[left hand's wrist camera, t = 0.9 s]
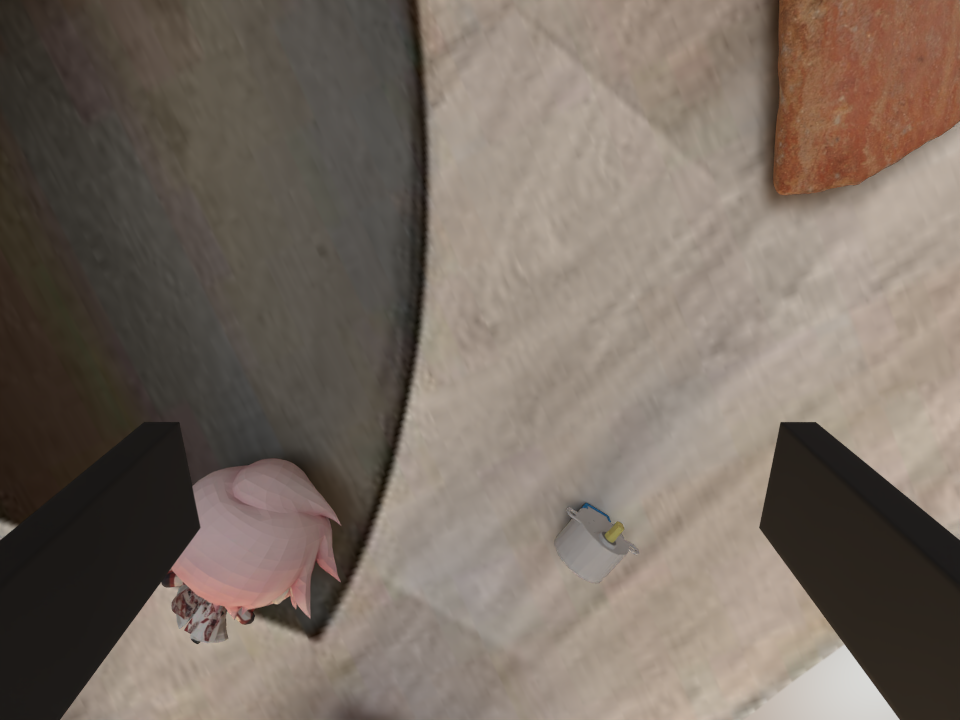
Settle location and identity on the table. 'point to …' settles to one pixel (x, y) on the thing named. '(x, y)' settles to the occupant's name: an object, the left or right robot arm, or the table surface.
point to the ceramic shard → (861, 87)
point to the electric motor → (592, 544)
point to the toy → (250, 546)
